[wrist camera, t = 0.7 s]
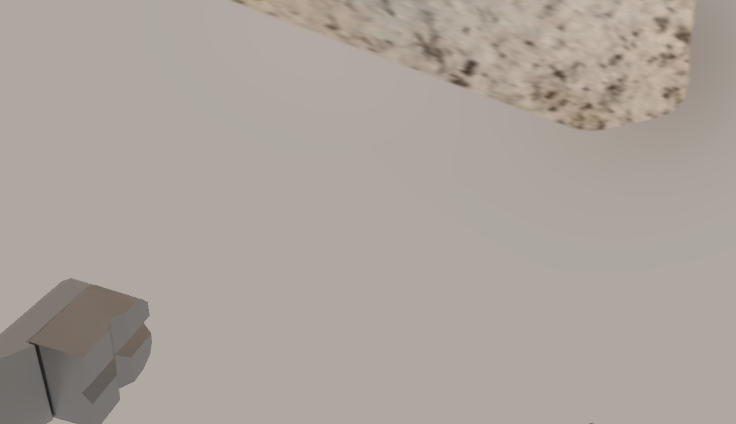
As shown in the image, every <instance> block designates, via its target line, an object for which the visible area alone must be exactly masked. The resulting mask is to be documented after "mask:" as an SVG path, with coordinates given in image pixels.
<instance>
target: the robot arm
mask: <svg viewBox="0 0 736 424" xmlns="http://www.w3.org/2000/svg"><path fill="white" fill-rule="evenodd" d="M148 317H149V309H148V303H147V302H146V301H144V300H142V299H139V298H136V297H132V296H129V295H126V294H122V293H119V292H116V291H113V290H110V289H106V288H103V287H100V286H97V285H92V284H88V283H85V282H82V281H78V280H75V279H72V278H71V279H68V280H65V281H62V282H61V283H59V284H58V285H57V286H56V287H55V288H54V289H52V290H51V291H50V292H49V293H48V294H47V295H45V296H44V297H43V298H42V299H41V300H40V301H38V302H37V303H36V304H35V305H34V306H33V307H31V308H30V309H29V310H28V311H27V312H26V313H24V314H23V315H22V316H21V317H20V318H19V319H17V320H16V321H15V322H14V323H13V324H12V325H10V326H9V327H8V328H7V329H6V330H5V331H3V332H2V333H1V334H0V424H47V423H48V422H50V421H52V420H53V417H55V418H58V419H62V420H65V421H69V422H73V423H76V424H101V423H102V422H103V421H104V419H105V418H106V417H107V416H108V414H109V413H110V412H111V411H112V409H113V408H114V407H115V405H116V404H117V403H118V402H119V400H120V394H119V388H121V387H123V386H125V385H127V384H130V383H132V382H134V381H135V380H136V378H137V377H138V375H139V374H140V373H141V371H142V370H143V368H144V366H145V364H146V362H147V359H148V357H149V355H150V350H151V344H152V340H151V332H150V331H149V330H148V328H147V327H146V326H145V325H144V321H145V320H146V319H147V318H148ZM590 424H592V423H590Z"/></svg>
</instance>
